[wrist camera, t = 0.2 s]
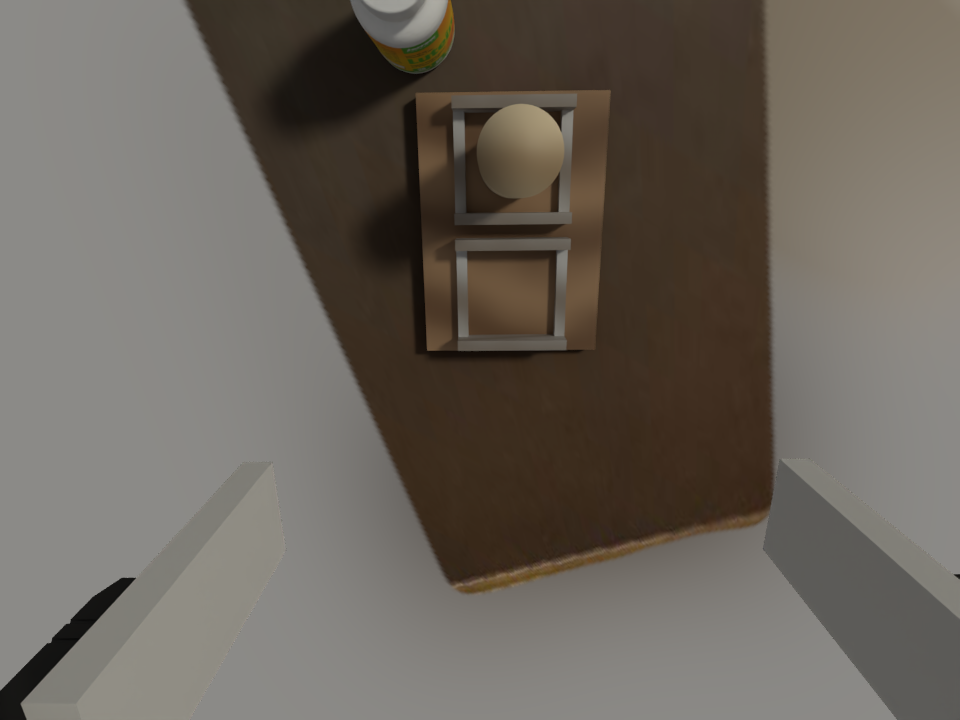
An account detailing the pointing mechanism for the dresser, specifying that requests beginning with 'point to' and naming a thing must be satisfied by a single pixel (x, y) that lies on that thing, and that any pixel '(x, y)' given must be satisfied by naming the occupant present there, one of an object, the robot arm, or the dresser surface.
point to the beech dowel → (520, 151)
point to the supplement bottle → (408, 31)
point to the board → (510, 228)
